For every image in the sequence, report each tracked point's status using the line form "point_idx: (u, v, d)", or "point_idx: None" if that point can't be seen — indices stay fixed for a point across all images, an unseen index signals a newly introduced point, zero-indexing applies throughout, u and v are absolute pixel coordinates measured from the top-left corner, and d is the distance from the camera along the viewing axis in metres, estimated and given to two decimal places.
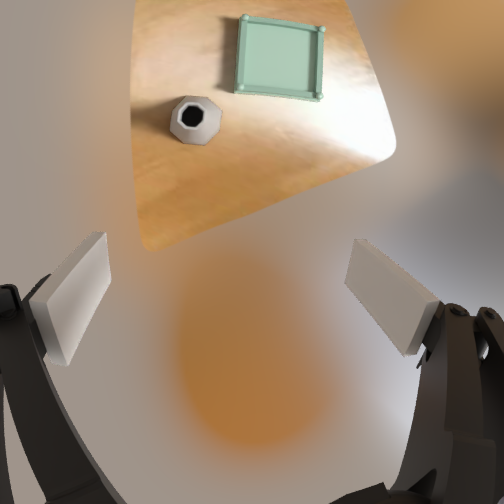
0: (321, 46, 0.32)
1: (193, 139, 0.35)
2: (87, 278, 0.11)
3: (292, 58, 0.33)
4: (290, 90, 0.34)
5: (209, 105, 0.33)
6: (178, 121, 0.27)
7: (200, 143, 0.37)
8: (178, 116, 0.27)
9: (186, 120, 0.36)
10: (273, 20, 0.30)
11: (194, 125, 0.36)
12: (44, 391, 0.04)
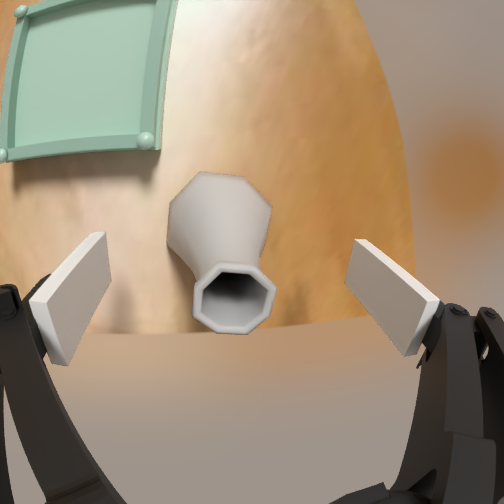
0: None
1: (264, 237, 0.18)
2: (87, 278, 0.11)
3: (81, 43, 0.12)
4: (153, 33, 0.12)
5: (190, 207, 0.16)
6: (247, 330, 0.11)
7: (269, 217, 0.19)
8: (233, 331, 0.11)
9: None
10: (4, 100, 0.11)
11: None
12: (44, 391, 0.04)
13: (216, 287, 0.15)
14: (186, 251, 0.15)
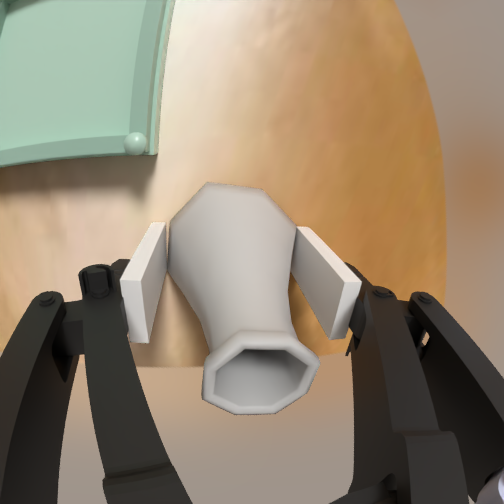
0: None
1: None
2: (157, 263, 0.13)
3: (61, 26, 0.09)
4: (148, 8, 0.09)
5: (195, 230, 0.13)
6: (275, 409, 0.08)
7: None
8: (257, 411, 0.08)
9: None
10: None
11: None
12: (129, 372, 0.06)
13: None
14: (191, 290, 0.12)
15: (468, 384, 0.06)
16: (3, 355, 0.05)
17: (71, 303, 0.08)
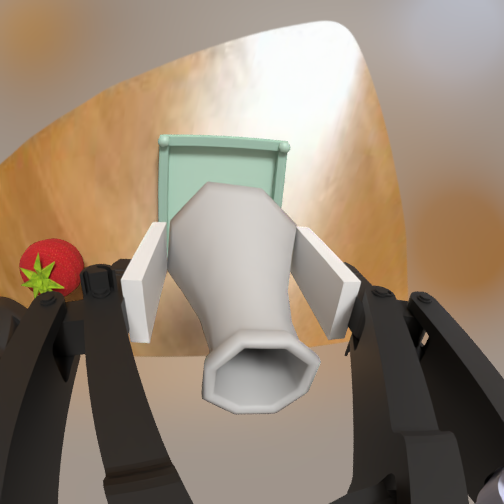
0: (196, 140, 0.24)
1: None
2: (158, 263, 0.13)
3: (221, 181, 0.27)
4: (276, 189, 0.27)
5: (195, 230, 0.13)
6: (276, 408, 0.08)
7: None
8: (258, 410, 0.08)
9: None
10: (161, 215, 0.26)
11: None
12: (129, 372, 0.06)
13: None
14: (191, 290, 0.12)
15: (468, 384, 0.06)
16: (4, 355, 0.05)
17: (72, 303, 0.08)
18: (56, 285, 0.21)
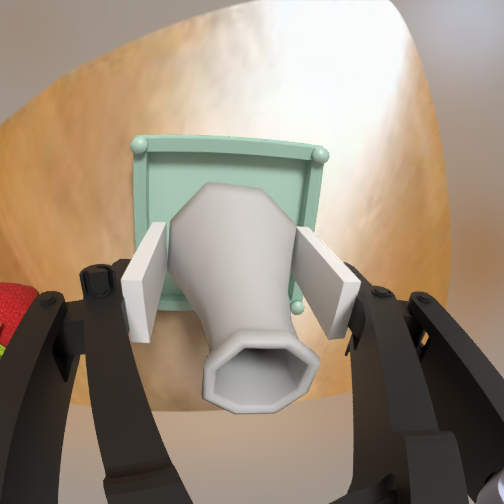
0: (189, 143, 0.16)
1: None
2: (158, 263, 0.13)
3: None
4: (307, 216, 0.19)
5: (195, 230, 0.13)
6: (276, 408, 0.08)
7: None
8: (258, 410, 0.08)
9: None
10: None
11: None
12: (130, 372, 0.06)
13: None
14: (191, 289, 0.12)
15: (468, 384, 0.06)
16: (4, 355, 0.05)
17: (72, 303, 0.08)
18: None
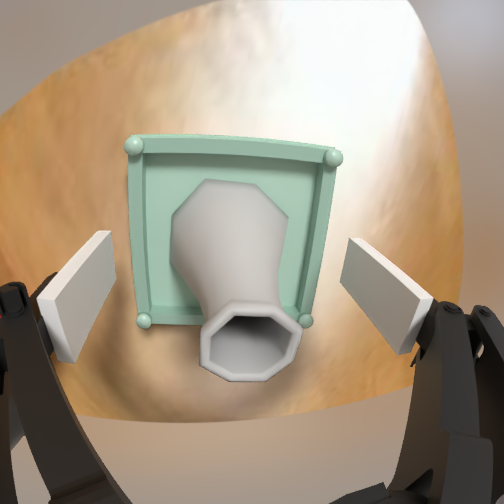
0: (189, 143, 0.14)
1: None
2: (93, 276, 0.11)
3: None
4: (318, 224, 0.17)
5: (194, 222, 0.14)
6: (266, 377, 0.09)
7: None
8: (249, 378, 0.09)
9: None
10: (136, 264, 0.16)
11: None
12: (51, 389, 0.05)
13: None
14: (191, 275, 0.13)
15: None
16: None
17: None
18: None
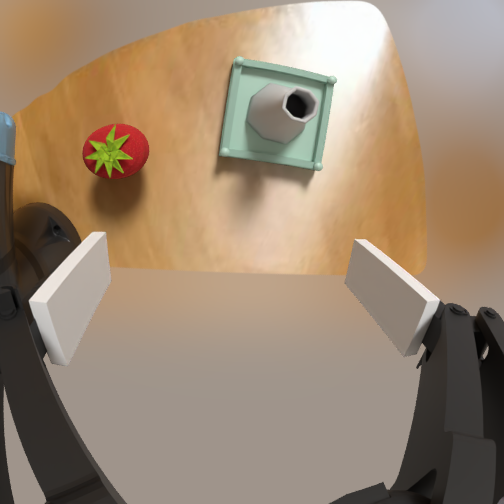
0: (265, 64, 0.27)
1: None
2: (87, 278, 0.11)
3: None
4: (324, 111, 0.30)
5: (267, 92, 0.27)
6: (305, 121, 0.22)
7: None
8: (299, 120, 0.22)
9: None
10: (228, 117, 0.29)
11: None
12: (44, 391, 0.04)
13: (284, 122, 0.25)
14: (267, 107, 0.26)
15: None
16: None
17: None
18: (125, 156, 0.24)
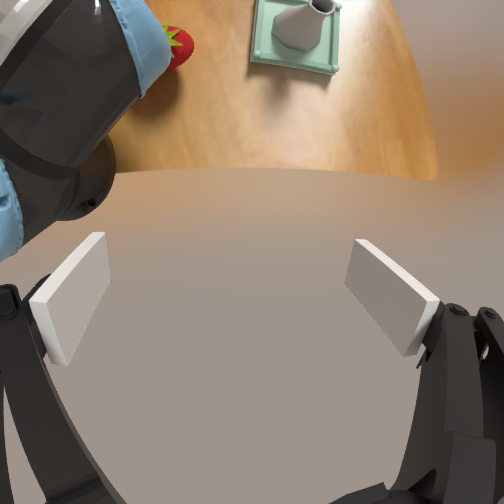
0: None
1: None
2: (87, 278, 0.11)
3: None
4: (335, 28, 0.30)
5: (289, 10, 0.27)
6: (327, 14, 0.22)
7: None
8: (323, 13, 0.22)
9: None
10: (258, 29, 0.29)
11: None
12: (44, 391, 0.04)
13: (308, 23, 0.25)
14: (293, 15, 0.26)
15: None
16: None
17: None
18: (177, 43, 0.24)
